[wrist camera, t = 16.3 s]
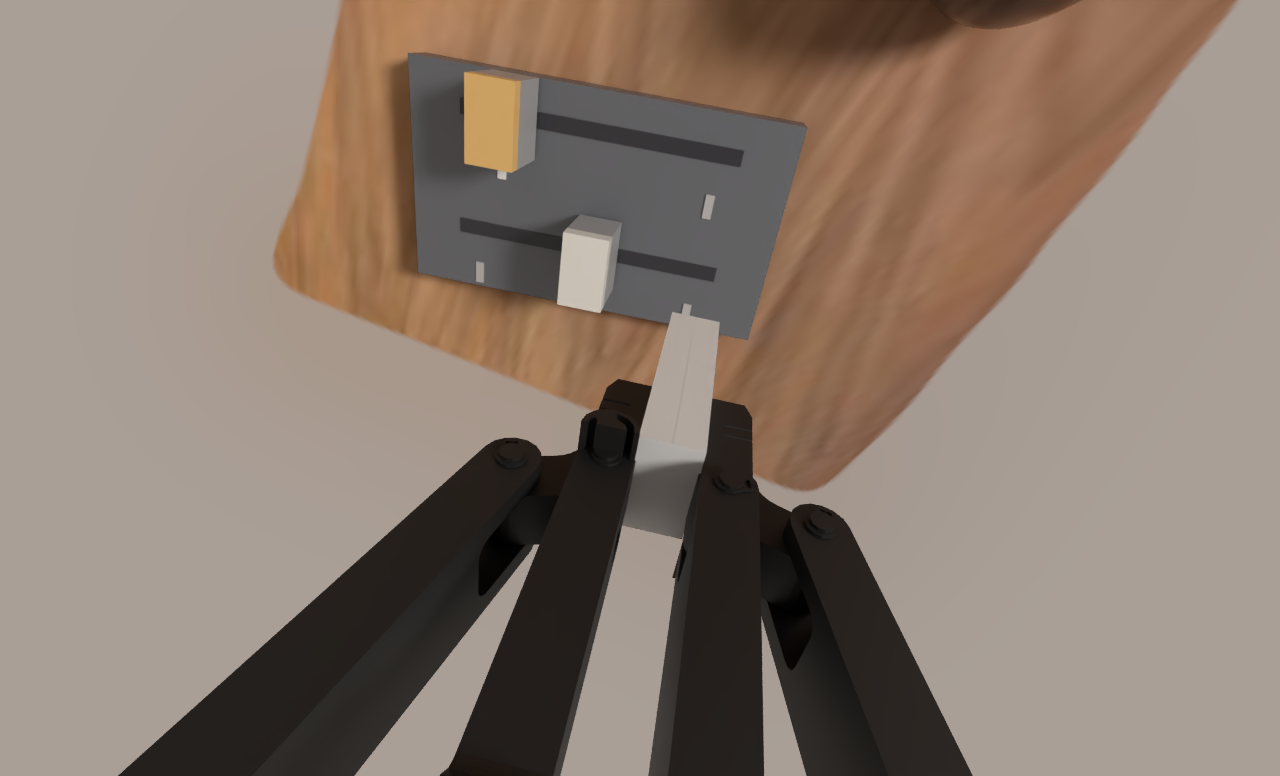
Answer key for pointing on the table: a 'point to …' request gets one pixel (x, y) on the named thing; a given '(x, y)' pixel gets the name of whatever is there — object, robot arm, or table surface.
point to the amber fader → (499, 119)
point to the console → (606, 194)
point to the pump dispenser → (999, 11)
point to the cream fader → (588, 262)
